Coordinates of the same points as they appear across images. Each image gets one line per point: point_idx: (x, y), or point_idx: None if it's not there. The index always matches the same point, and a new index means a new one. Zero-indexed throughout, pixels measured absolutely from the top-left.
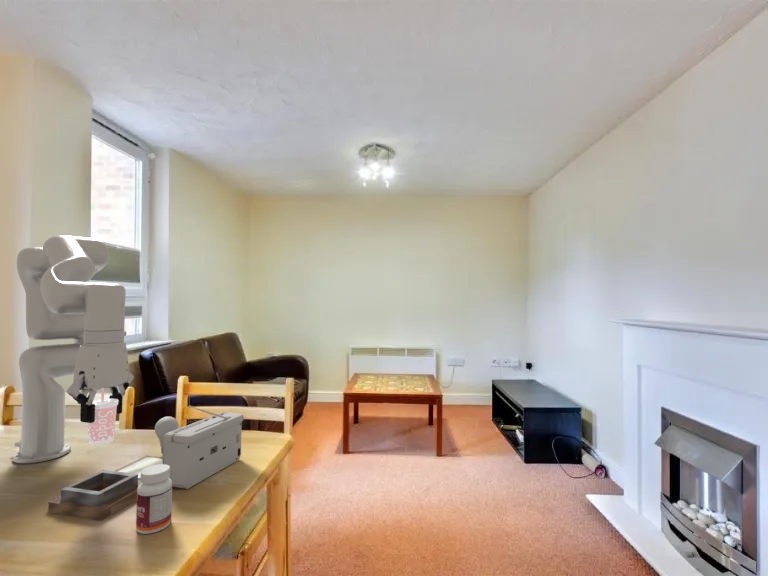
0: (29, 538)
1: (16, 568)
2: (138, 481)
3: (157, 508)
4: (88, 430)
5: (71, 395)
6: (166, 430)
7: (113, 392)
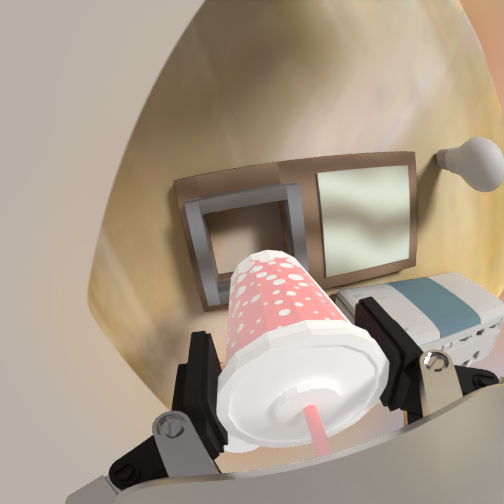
0: (120, 253)
1: (92, 314)
2: (316, 262)
3: None
4: (229, 304)
5: (96, 488)
6: (471, 182)
7: (417, 385)
